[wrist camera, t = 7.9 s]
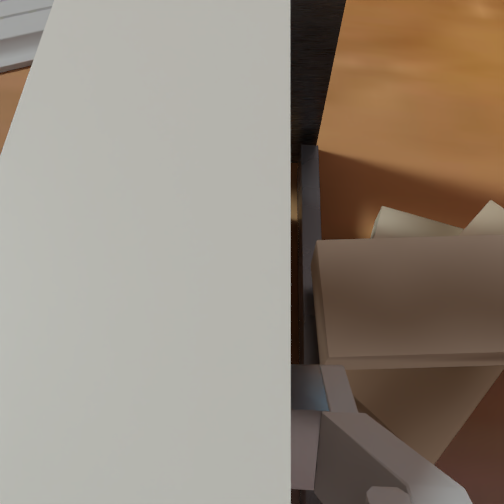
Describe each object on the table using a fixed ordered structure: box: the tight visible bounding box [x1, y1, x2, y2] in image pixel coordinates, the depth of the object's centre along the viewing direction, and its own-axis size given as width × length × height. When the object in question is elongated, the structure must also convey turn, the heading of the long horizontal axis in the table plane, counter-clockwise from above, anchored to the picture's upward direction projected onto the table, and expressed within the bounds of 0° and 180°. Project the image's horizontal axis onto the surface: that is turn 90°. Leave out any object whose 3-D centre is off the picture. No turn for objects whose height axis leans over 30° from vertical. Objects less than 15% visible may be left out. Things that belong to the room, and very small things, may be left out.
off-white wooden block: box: [0, 0, 291, 504], centre depth 13 cm, size 4×12×14 cm, turn 178°
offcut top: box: [311, 235, 504, 370], centre depth 16 cm, size 4×9×2 cm, turn 92°
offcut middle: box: [345, 200, 504, 465], centre depth 17 cm, size 4×10×2 cm, turn 135°
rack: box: [290, 0, 346, 504], centre depth 13 cm, size 9×18×15 cm, turn 178°
